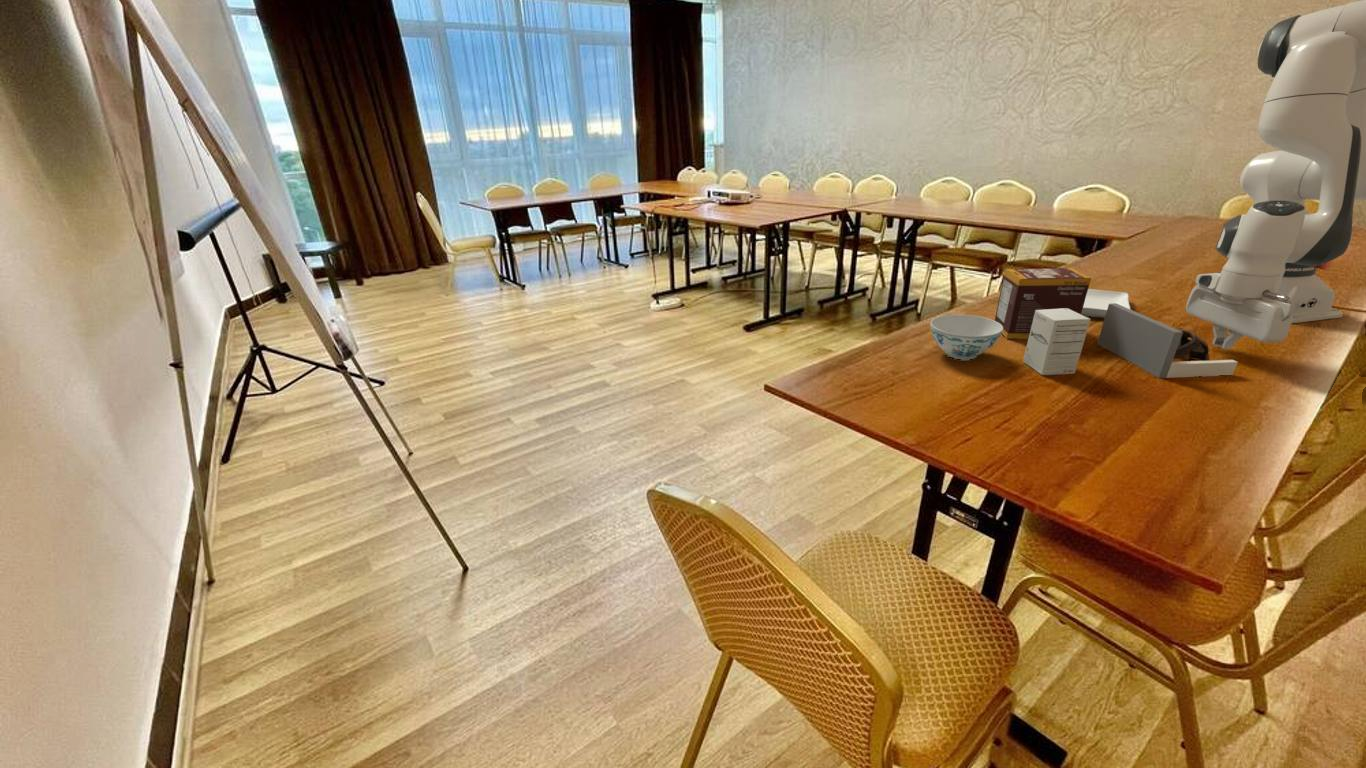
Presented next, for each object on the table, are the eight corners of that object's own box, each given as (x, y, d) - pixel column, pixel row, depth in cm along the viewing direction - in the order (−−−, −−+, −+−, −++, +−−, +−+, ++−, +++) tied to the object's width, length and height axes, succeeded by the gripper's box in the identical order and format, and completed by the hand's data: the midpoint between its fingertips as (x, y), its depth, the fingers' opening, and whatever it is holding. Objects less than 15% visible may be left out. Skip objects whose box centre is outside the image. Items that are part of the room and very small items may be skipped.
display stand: (1159, 341, 123) (1173, 300, 119) (1232, 375, 106) (1252, 329, 101) (1097, 343, 124) (1109, 303, 120) (1158, 377, 107) (1175, 332, 103)
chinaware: (1004, 351, 124) (1011, 321, 121) (985, 373, 114) (992, 340, 111) (939, 339, 134) (943, 310, 130) (916, 358, 124) (920, 328, 121)
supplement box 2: (1021, 362, 118) (1033, 309, 113) (1055, 360, 118) (1069, 307, 112) (1040, 375, 111) (1054, 320, 106) (1076, 374, 111) (1092, 318, 106)
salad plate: (1037, 295, 161) (1040, 284, 160) (1125, 302, 150) (1128, 291, 148) (1031, 314, 146) (1034, 303, 145) (1128, 324, 135) (1132, 312, 133)
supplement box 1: (1075, 339, 127) (1092, 277, 121) (1006, 339, 131) (1019, 278, 124) (1057, 325, 137) (1072, 267, 130) (992, 325, 140) (1004, 268, 133)
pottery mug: (1217, 375, 107) (1209, 344, 104) (1157, 385, 114) (1147, 356, 111) (1205, 342, 115) (1196, 312, 112) (1149, 353, 122) (1140, 325, 119)
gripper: (1315, 298, 98) (1284, 365, 104) (1221, 272, 116) (1199, 330, 122) (1278, 300, 98) (1249, 366, 104) (1190, 273, 116) (1170, 331, 122)
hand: (1221, 346), depth 113 cm, fingers closed
